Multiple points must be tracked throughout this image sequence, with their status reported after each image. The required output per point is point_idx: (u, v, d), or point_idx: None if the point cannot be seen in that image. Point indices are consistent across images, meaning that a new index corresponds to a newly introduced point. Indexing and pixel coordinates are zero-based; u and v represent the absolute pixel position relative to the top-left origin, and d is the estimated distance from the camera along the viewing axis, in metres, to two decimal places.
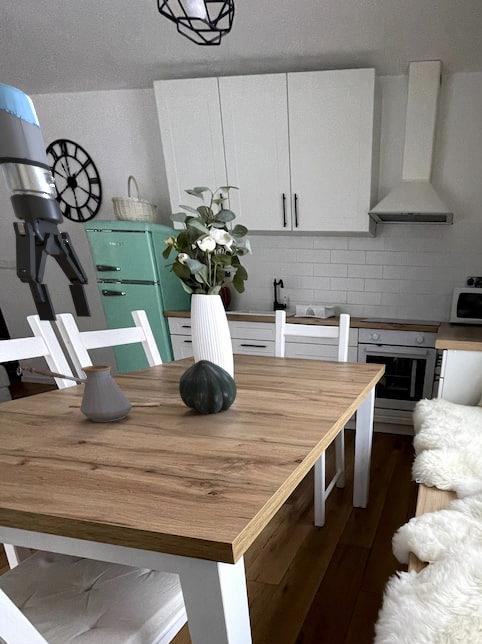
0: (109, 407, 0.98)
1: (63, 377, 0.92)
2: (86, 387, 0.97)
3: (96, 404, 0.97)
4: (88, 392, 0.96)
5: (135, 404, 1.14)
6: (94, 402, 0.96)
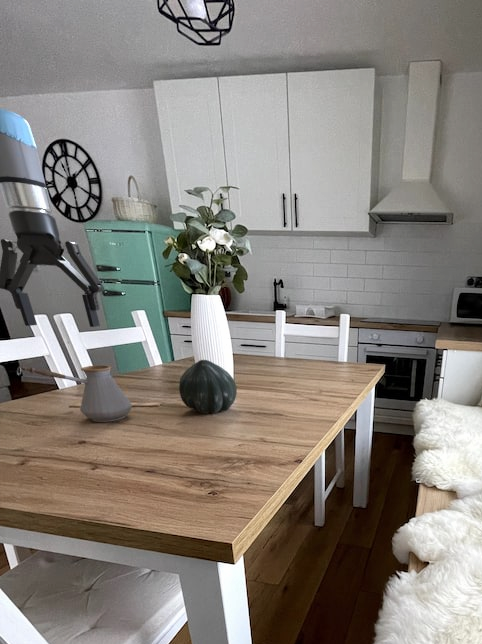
0: (109, 407, 0.98)
1: (63, 377, 0.92)
2: (86, 387, 0.97)
3: (96, 404, 0.97)
4: (88, 392, 0.96)
5: (135, 404, 1.14)
6: (94, 402, 0.96)
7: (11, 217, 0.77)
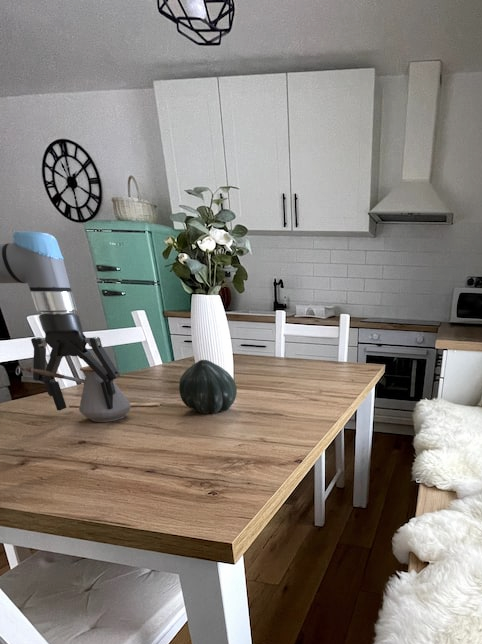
0: None
1: (62, 376, 0.92)
2: (85, 387, 0.97)
3: (95, 404, 0.97)
4: (87, 392, 0.97)
5: (135, 404, 1.14)
6: (92, 402, 0.96)
7: (41, 319, 0.86)
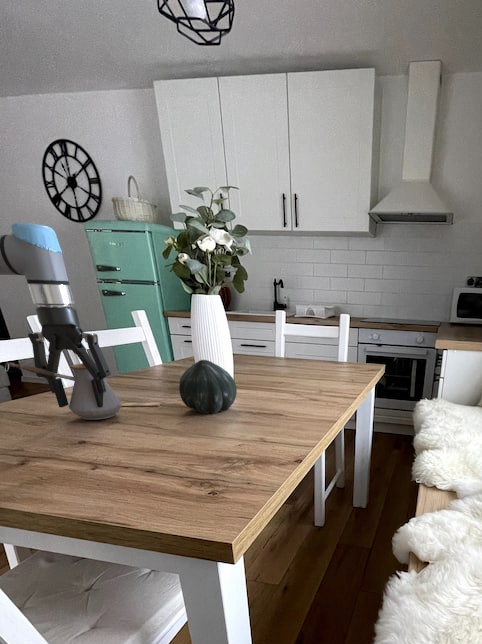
0: None
1: (52, 374, 0.92)
2: (75, 385, 0.96)
3: (85, 402, 0.96)
4: (77, 390, 0.96)
5: (135, 404, 1.14)
6: (83, 399, 0.96)
7: (38, 312, 0.86)
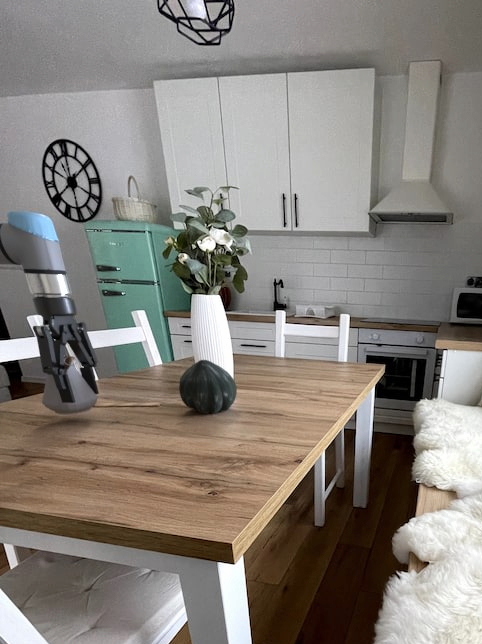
0: (94, 393, 1.00)
1: (69, 367, 0.90)
2: None
3: (88, 391, 0.98)
4: (75, 382, 0.95)
5: (135, 404, 1.14)
6: (85, 390, 0.97)
7: (60, 303, 0.86)
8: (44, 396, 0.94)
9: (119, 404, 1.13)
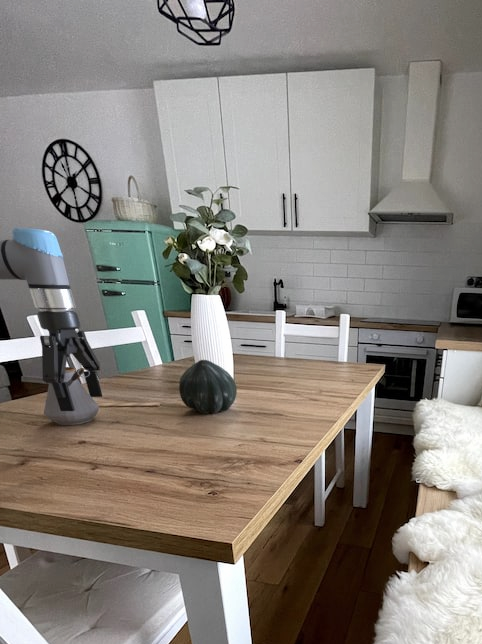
0: (95, 402, 1.02)
1: None
2: (72, 389, 0.95)
3: (91, 401, 0.99)
4: (78, 392, 0.96)
5: (135, 404, 1.14)
6: (89, 400, 0.98)
7: (67, 317, 0.87)
8: (47, 408, 0.94)
9: (119, 404, 1.13)
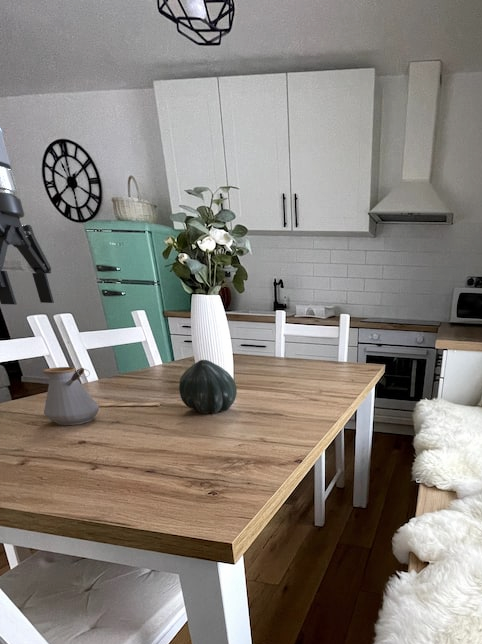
0: (95, 402, 1.02)
1: None
2: (72, 389, 0.95)
3: (91, 401, 0.99)
4: (78, 392, 0.96)
5: (135, 404, 1.14)
6: (89, 400, 0.98)
7: (7, 198, 0.82)
8: (47, 408, 0.94)
9: (119, 404, 1.13)
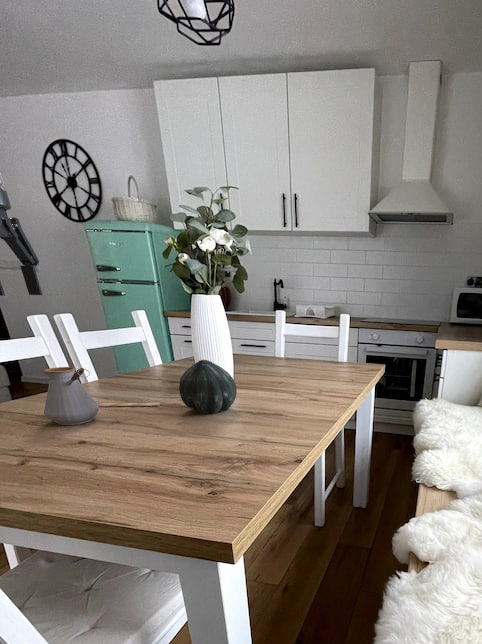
0: (95, 402, 1.02)
1: None
2: (72, 389, 0.95)
3: (91, 401, 0.99)
4: (78, 392, 0.96)
5: (135, 404, 1.14)
6: (89, 400, 0.98)
7: None
8: (47, 408, 0.94)
9: (119, 404, 1.13)
